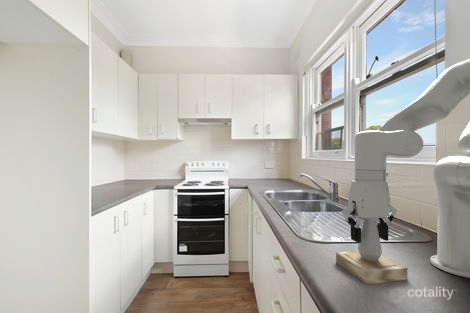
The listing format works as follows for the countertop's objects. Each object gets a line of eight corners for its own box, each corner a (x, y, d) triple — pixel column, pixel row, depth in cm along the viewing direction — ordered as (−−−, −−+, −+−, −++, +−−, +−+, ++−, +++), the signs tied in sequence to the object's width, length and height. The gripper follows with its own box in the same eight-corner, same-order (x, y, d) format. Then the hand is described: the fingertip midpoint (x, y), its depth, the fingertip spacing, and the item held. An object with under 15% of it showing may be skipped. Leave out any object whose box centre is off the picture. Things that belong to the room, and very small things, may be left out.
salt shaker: (385, 264, 61) (385, 214, 61) (361, 262, 62) (361, 213, 62) (376, 255, 67) (376, 209, 67) (355, 253, 68) (355, 208, 68)
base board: (370, 259, 71) (371, 248, 71) (407, 279, 60) (407, 267, 60) (336, 262, 69) (336, 251, 69) (366, 284, 57) (367, 271, 57)
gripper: (385, 174, 70) (384, 233, 70) (333, 175, 66) (332, 237, 66) (408, 177, 62) (408, 242, 62) (351, 178, 59) (351, 247, 59)
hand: (369, 239), depth 64 cm, fingers open, 8 cm apart
